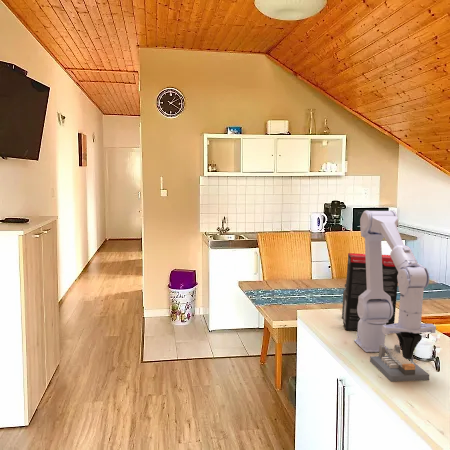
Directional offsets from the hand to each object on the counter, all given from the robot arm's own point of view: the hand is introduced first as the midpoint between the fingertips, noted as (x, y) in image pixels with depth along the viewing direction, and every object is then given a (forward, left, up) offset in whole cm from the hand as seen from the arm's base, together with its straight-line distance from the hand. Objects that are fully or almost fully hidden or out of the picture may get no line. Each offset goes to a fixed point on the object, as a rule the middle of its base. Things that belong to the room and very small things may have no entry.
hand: (406, 357), depth 127 cm
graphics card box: (-36, +6, -6) cm, 37 cm away
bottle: (-48, +4, -6) cm, 49 cm away
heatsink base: (-4, 0, -5) cm, 7 cm away
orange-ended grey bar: (-4, 0, -2) cm, 5 cm away
